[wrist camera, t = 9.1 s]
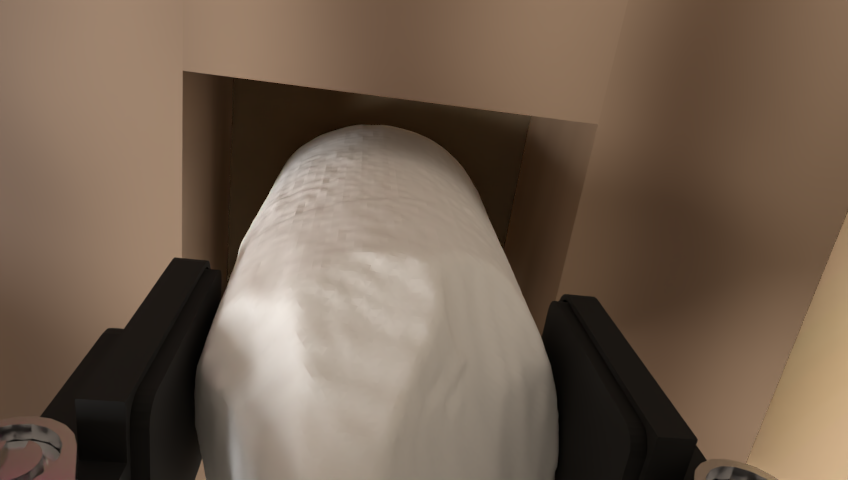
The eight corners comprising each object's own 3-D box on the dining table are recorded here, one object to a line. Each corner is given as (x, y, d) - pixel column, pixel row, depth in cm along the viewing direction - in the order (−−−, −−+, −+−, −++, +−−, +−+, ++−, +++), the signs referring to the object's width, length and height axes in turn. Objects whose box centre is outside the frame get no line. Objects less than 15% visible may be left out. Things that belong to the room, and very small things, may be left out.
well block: (803, -81, 16) (975, -105, 12) (624, 476, 23) (689, 601, 18) (-44, -234, 14) (-250, -341, 9) (26, 442, 20) (-74, 578, 16)
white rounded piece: (827, 706, 6) (403, 961, 7) (531, 234, 17) (383, 365, 18) (365, 318, 4) (-109, 755, 5) (369, 70, 15) (215, 229, 16)
